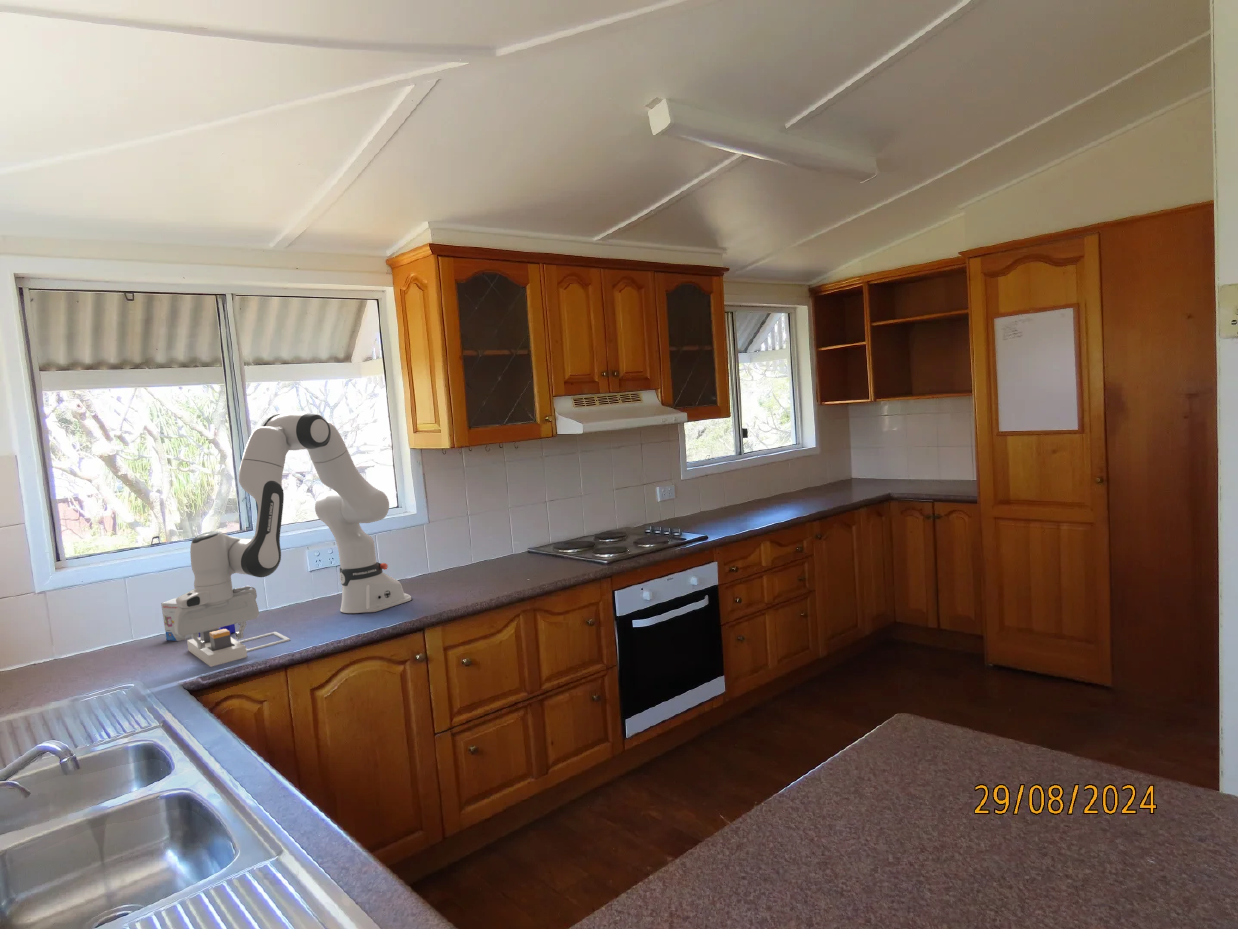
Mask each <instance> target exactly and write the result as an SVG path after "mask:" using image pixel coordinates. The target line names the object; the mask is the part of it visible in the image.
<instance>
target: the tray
mask: <svg viewBox="0 0 1238 929" xmlns="http://www.w3.org/2000/svg"><path fill="white" fill-rule="evenodd" d="M273 635H274V636H276V637H277V638H280V639H281V640H277V641H274V642H269V643H265V644H263V645H258V646H255V647H251V648H247V647H246V651H247V653H248V652H252V651H255V650H260V649H264V648H267V647H271V646H274V645H279V644H282V643H286V642H288V641H291V638H290V637H287V636H285V635H283V634H282V633H279V632H277V631H272V632H268V633H264V634H261V635H256V636H253V637H249V638H245V639H244V638H243V639H239V640H237V641H238V642H240V643H242V644H243V643H246V642H249V641H254V640H257V639H262V638H265V637H269V636H273Z"/></svg>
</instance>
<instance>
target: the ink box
mask: <svg viewBox="0 0 1238 929" xmlns="http://www.w3.org/2000/svg"><path fill="white" fill-rule="evenodd" d="M177 598H178V597H174V598H172V599H169V600H166V601H164V602H161V603H160V604H161V611H162V617H163V618H162V619H163V625H164V631H165V638H166V640H167V641H174V642H175V641H178V642H180V641H183V640H184V641H185V640H190V639H193V638H192V637H191V635H187V636H183V637H181V636H179V635H177V634H176V633H175V629H174V614H175V610H176V609H177V608H178V607H179V606H178V605H177V603H176V599H177Z"/></svg>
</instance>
